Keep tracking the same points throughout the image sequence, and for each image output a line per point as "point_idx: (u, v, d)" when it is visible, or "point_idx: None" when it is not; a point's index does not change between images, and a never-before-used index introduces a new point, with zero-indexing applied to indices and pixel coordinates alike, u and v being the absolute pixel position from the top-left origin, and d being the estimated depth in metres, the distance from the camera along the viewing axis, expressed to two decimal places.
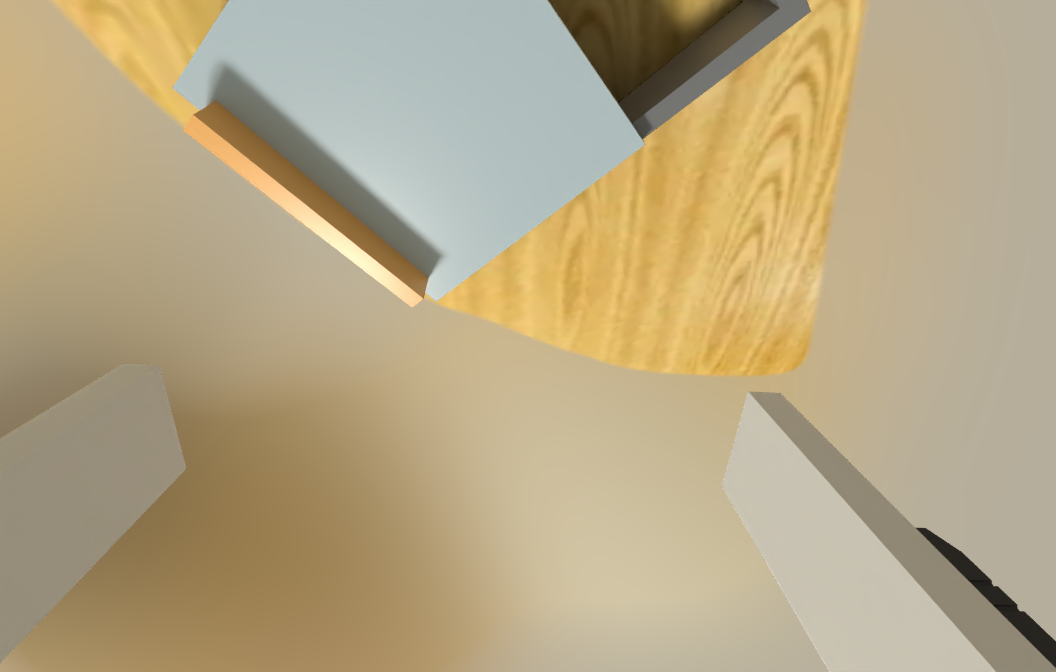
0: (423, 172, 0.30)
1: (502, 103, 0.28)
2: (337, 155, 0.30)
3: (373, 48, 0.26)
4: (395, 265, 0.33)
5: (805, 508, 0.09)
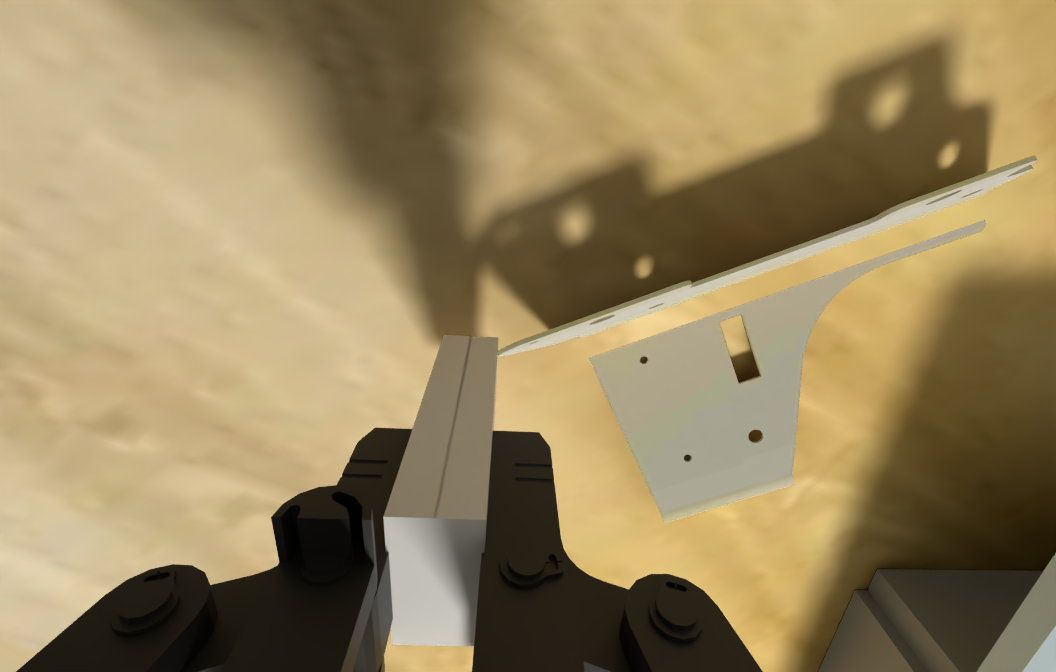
0: None
1: None
2: None
3: None
4: None
5: None
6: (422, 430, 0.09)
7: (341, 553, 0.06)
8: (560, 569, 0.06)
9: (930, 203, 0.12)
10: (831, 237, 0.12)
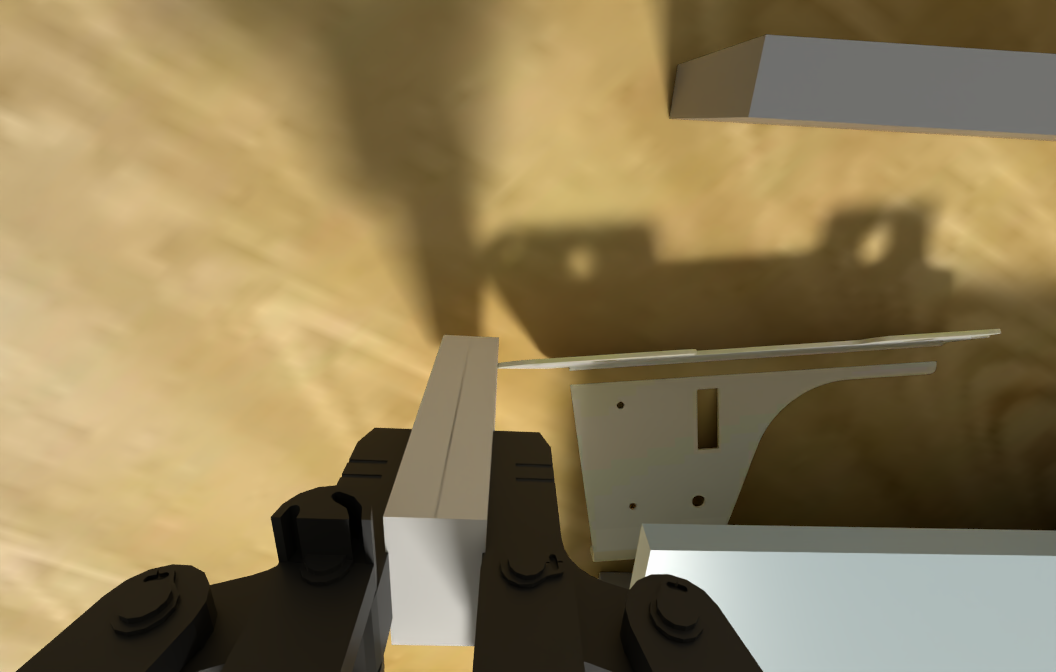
0: None
1: None
2: None
3: None
4: None
5: None
6: (421, 430, 0.09)
7: (341, 553, 0.06)
8: (560, 569, 0.06)
9: (906, 341, 0.13)
10: (822, 346, 0.13)
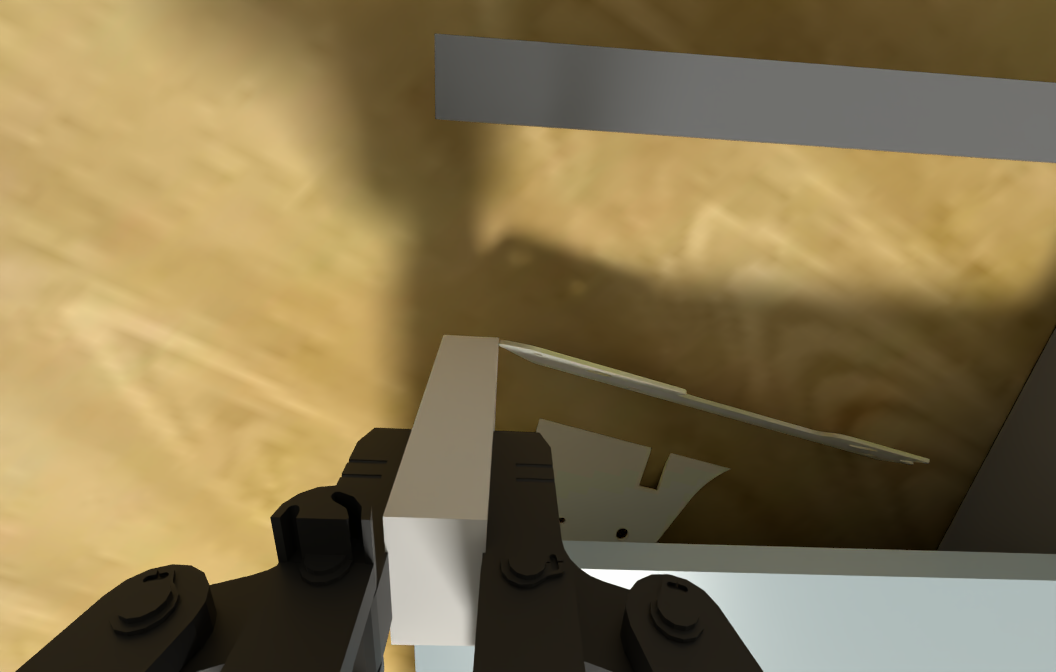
0: None
1: None
2: None
3: None
4: None
5: None
6: (421, 430, 0.09)
7: (340, 553, 0.06)
8: (561, 569, 0.06)
9: (851, 445, 0.15)
10: (786, 426, 0.14)
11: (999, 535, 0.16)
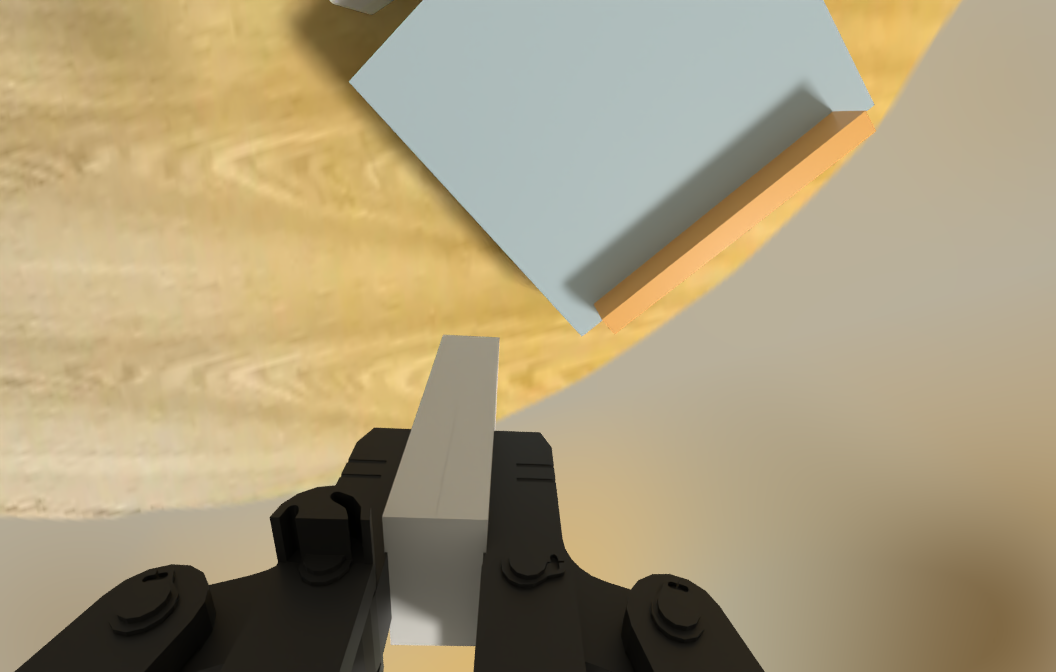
0: (685, 96, 0.25)
1: None
2: (654, 199, 0.27)
3: (551, 134, 0.25)
4: (803, 149, 0.25)
5: None
6: (421, 430, 0.09)
7: (339, 553, 0.06)
8: (561, 569, 0.06)
9: None
10: None
11: None
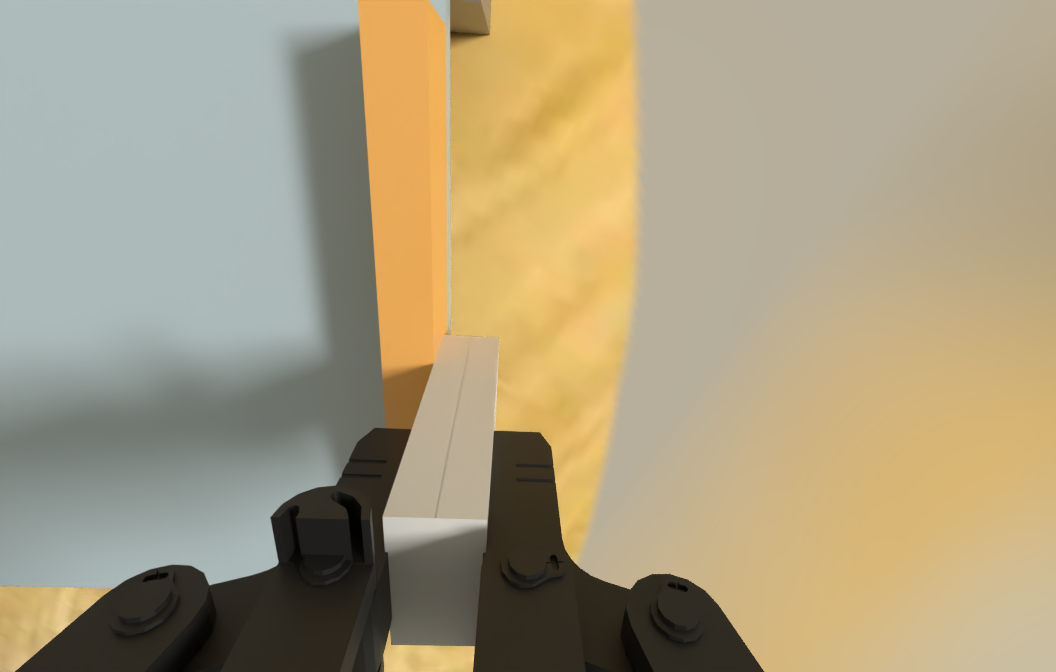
0: (178, 256, 0.13)
1: None
2: (320, 398, 0.14)
3: (120, 451, 0.15)
4: None
5: None
6: (421, 430, 0.09)
7: (340, 553, 0.06)
8: (561, 569, 0.06)
9: None
10: None
11: None
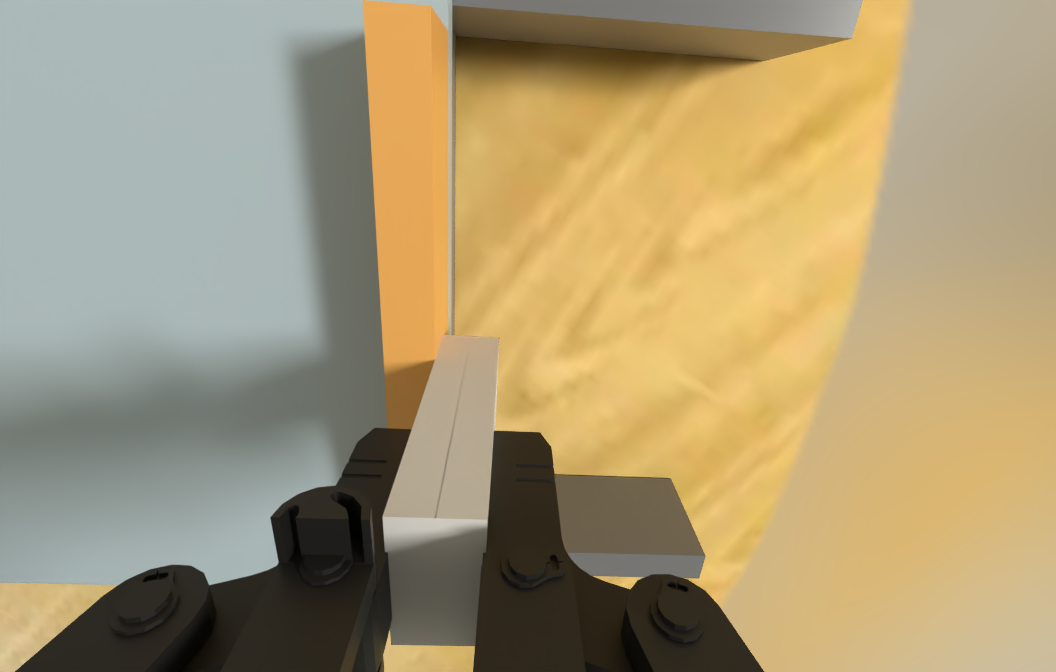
0: (183, 256, 0.13)
1: None
2: (321, 396, 0.15)
3: (123, 449, 0.15)
4: None
5: None
6: (421, 430, 0.09)
7: (340, 553, 0.06)
8: (561, 569, 0.06)
9: None
10: None
11: None
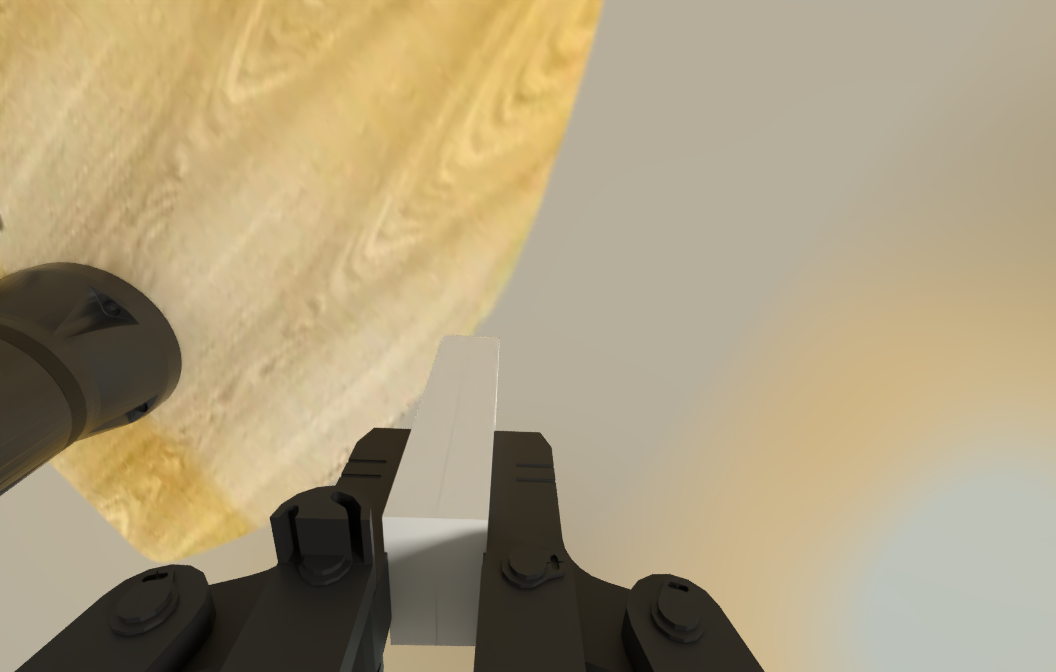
0: None
1: None
2: None
3: None
4: None
5: None
6: (421, 430, 0.09)
7: (340, 553, 0.06)
8: (561, 569, 0.06)
9: None
10: None
11: None
